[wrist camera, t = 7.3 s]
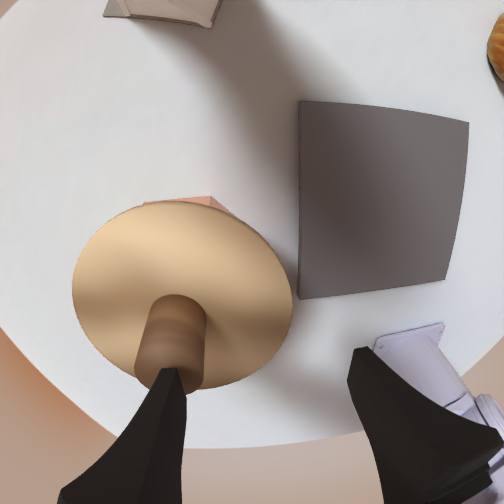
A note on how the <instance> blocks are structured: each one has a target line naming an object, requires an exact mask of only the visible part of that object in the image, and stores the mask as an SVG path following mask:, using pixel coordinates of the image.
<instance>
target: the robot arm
mask: <svg viewBox="0 0 504 504" xmlns="http://www.w3.org/2000/svg"><path fill="white" fill-rule="evenodd" d="M444 329H445V325H444V324H443V323H439V324H435V325H431V326H427V327H423V328H418V329H414V330H410V331H405V332H401V333H396V334H392V335H387V336H382V337H379V338H378V339H377V341H376V344H375V347H374V351H372V350H371V349H370V348H369V347H368V346H367V347H362V348H356V349H354V352H353V356H352V361H351V365H350V369H349V374H348V378H347V383H348V387H349V391H350V394H351V398H352V401H353V404H354V406H355V408H356V411H357V413H358V415H359V418H360V420H361V422H362V425H363V427H364V429H365V432H366V434H367V436H368V439H369V441H370V444H371V447H372V450H373V453H374V457H375V461H376V465H377V469H378V473H379V478H380V482H381V488H382V493H383V499H384V504H504V411H503V410H502V408H501V407H500V406H499V405H498V403H497V402H496V401H495V400H494V399H493V397H492V396H491V395H489V394H484V395H483V394H480V395H478V397H477V398H475V397H474V396H472V394H471V392H470V391H469V389H468V388H467V387H466V385H465V384H464V382H463V381H462V379H461V378H460V376H459V375H458V374H457V372H456V371H455V369H454V368H453V367H452V365H451V364H450V362H449V361H448V360H447V358H446V357H445V356H444V354H443V353H442V351H441V350H440V349H439V347H438V344H439V341H440V339H441V336H442V334H443V331H444ZM186 420H187V398H186V395H185V392H184V389H183V386H182V383H181V380H180V377H179V374H178V371H177V368H162V369H160V371H159V373H158V375H157V377H156V379H155V381H154V383H153V385H152V387H151V388H150V390H149V392H148V394H147V396H146V397H145V399H144V401H143V402H142V404H141V406H140V407H139V409H138V411H137V412H136V414H135V415H134V417H133V418H132V420H131V421H130V423H129V424H128V425H127V427H126V428H125V430H124V431H123V432H122V434H121V435H120V436H119V437H118V439H117V440H116V441H115V442H114V443H113V445H112V446H111V447H110V448H109V449H108V450H107V451H106V452H105V453H104V454H103V455H102V456H101V457H100V458H99V459H98V461H96V462H95V463H94V464H93V465H92V466H91V467H90V468H88V469H87V470H86V471H85V472H84V473H83V474H81V476H79V477H78V478H76V479H75V480H73V481H72V482H71V483H69V484H68V485H66V486H65V487H63V488H62V489H61V491H60V494H59V497H58V501H57V504H182V492H181V465H182V454H183V446H184V438H185V429H186Z"/></svg>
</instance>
